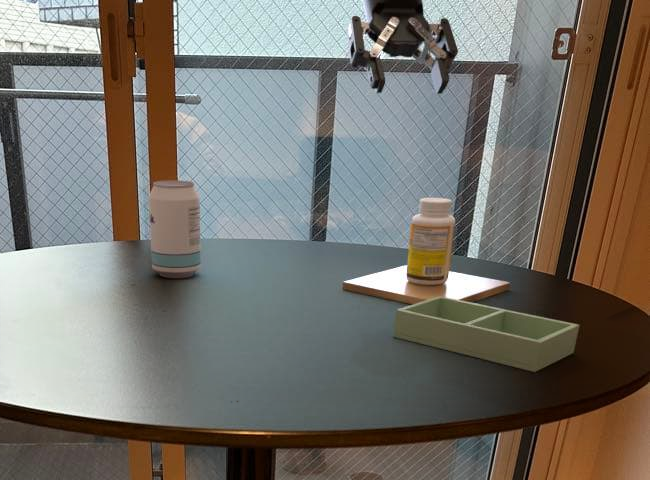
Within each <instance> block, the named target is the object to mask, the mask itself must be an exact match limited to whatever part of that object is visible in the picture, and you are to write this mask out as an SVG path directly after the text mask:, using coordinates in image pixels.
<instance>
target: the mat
mask: <svg viewBox="0 0 650 480" xmlns="http://www.w3.org/2000/svg"><path fill="white" fill-rule="evenodd" d="M406 274H407V264H406V265H401V266H397V267H395V268H390V269H386V270H383V271H379V272H374V273H371V274H367V275H363V276H360V277H356V278H353V279H349V280H344V281H342V288H341V289H342V290H344V291H348V292H354V293H358V294H363V295H367V296H372V297H375V298H380V299H385V300H388V301H393V302H398V303H399V302H400V303H403V304H408V305H413V304H416V303H419V302H422V301H426V300H429V299H432V298H435V297H438V296H442V297H446V298H451V299H456V300H461V301H466V302H471V303H475V302H478V301H481V300H484V299H486V298H489V297H492V296H496V295H498V294H501V293H504V292H507V291H509V290H510V288H511V282H510V281H506V280H505V281H504V280H499V279H493V278H488V277H482V276H477V275H471V274H466V273H462V272H455V271H450V270H449V275H448V280H447V281H446V282H445V283H443V284H440V285H418V284H414V283H411V282H409V281H408V280H407V277H406Z"/></svg>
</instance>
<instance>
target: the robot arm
mask: <svg viewBox="0 0 650 480" xmlns="http://www.w3.org/2000/svg"><path fill="white" fill-rule="evenodd" d="M361 1H362V5H363V10H364V14H365V20H366V22H365V21H364V22H363V21H362V19H361V17H360V16H358V15H353V16H352V17H351V20H350V23H349V27H348V29H347V33H346V37H347V44H348V45H347V46H348V52H349V53H348V54H349V61H350V65H351V67H353V68H355V69H357V68H359V67H362V68H364V70H365V71H366V73H367V77H368V83H369V87H370V88H371V89H373V91H374V93H375V94H382V92H383V91H384V87H385V84H386V77H385V76H386V75H385V71H384V67H383V61H382V59H383V57H384V56H385V55H388V56H389V58H397V57H404V58H413V59H414V60H415V61H416V62H417V63H418V64H420V65H422V64H423V65H424V66H426V67H427V68H428V69H430V70H431V71H430V75H431V79H432V84H433V87H434V92H435V95H442V94H443V93H444V90H446V88H447V86H448V84H449V82H450V75H449V73H450V72H449V70H450V69H451V68H452V66H453V63H454V62H455V59H456V57H457V55H458V53H459V49H458V46H457V43H456V40H455V36H454V34H453V30H452V28H451V23H450V20H449V19H448V18H446V17H442V18H441V19H440V21H439V23H429V21H428V20H427V19H426V17H425V15H424V14H425V13H424V3H423V0H361ZM366 35H367V37H368V39H369V40H371V41H372V43H374V45H373V46H372V47H371V49H370V50H367V49H366V47H365V41H364V39H365V36H366ZM423 44H424V46H423V49H422V50H420V49H421V47H422V45H423ZM431 54H432V55H433V56H434V58H433V57H432V56H431Z"/></svg>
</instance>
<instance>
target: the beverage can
mask: <svg viewBox="0 0 650 480" xmlns="http://www.w3.org/2000/svg"><path fill="white" fill-rule="evenodd" d="M152 185H153V186H152V189H151V191H150V193H149V195H148V208H149V209H148V210H149V229H150V231H149V232H150V250H151V253H150V255H151V268H152V269H153V270H154V271H155V272H157V273H158V274H159V276H160V277H163V278H167V279H186V278H190V277H193V276H194V275H195V274H196V272H198V271H199V270H200V269H201V268H202V257H201V255H202V254H201V250H202V249H201V202H200V201H201V197H200V195H199V193H198V191H197V189H196V187H195V182H193V181H190V180H189V181H188V180H158V181H154V182H153V184H152Z"/></svg>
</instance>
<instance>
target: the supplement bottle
mask: <svg viewBox="0 0 650 480" xmlns="http://www.w3.org/2000/svg"><path fill="white" fill-rule="evenodd" d="M418 205H419V206H418V213H416V214H415V215H413V216H412V218H411V222H410V223H411V224H410V235H409V243H408V252H407V253H408V254H407V264H406V265H407V274H406V277H407V280H408V281H409V282H411V283H414V284H418V285H440V284H443V283H445V282H446V281H447V280H448V275H449V271H450V267H451V260H452V259H451V258H452V251H453V243H454V235H455V228H456V219H455V217H454V216H453V215H452V214H451V210H452V200H451V199H449V198H444V197H423V198H421V199H420V200H419V204H418Z"/></svg>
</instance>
